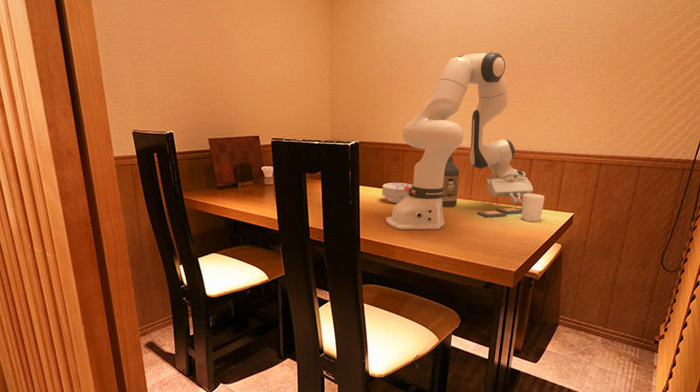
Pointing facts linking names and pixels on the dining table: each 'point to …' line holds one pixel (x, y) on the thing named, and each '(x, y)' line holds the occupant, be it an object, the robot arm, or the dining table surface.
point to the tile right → (510, 210)
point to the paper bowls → (395, 191)
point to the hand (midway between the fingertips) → (517, 203)
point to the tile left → (491, 214)
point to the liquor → (450, 184)
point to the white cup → (532, 207)
